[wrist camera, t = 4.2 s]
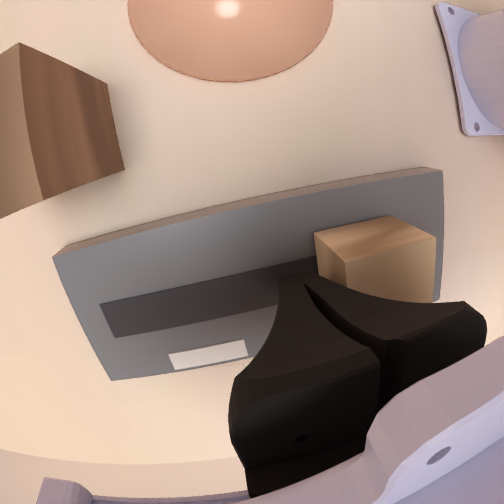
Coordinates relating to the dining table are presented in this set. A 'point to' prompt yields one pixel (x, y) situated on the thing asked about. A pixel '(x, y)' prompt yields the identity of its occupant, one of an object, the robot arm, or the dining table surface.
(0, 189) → the block
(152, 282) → the switch panel
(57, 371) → the dining table surface
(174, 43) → the coaster
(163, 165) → the dining table surface
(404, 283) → the switch tab
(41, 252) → the dining table surface
